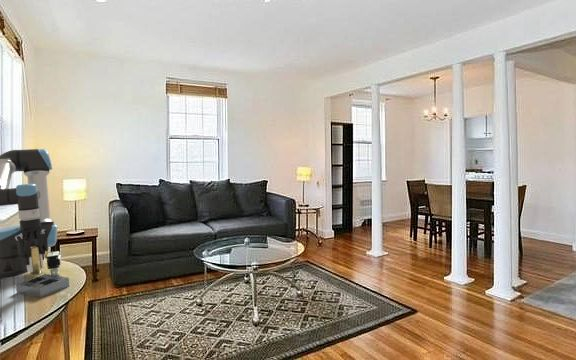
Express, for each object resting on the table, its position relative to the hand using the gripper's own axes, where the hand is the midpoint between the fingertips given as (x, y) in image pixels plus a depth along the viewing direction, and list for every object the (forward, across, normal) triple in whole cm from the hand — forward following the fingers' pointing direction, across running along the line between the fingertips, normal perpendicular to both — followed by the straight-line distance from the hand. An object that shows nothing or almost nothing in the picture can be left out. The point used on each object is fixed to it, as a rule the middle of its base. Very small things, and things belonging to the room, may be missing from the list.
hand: (35, 269), depth 162 cm
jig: (+9, 0, -4) cm, 10 cm away
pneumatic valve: (+9, +15, +9) cm, 20 cm away
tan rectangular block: (+2, 0, 0) cm, 2 cm away
